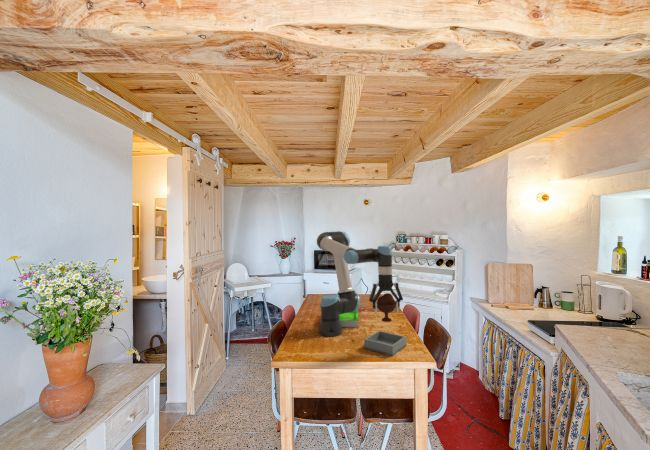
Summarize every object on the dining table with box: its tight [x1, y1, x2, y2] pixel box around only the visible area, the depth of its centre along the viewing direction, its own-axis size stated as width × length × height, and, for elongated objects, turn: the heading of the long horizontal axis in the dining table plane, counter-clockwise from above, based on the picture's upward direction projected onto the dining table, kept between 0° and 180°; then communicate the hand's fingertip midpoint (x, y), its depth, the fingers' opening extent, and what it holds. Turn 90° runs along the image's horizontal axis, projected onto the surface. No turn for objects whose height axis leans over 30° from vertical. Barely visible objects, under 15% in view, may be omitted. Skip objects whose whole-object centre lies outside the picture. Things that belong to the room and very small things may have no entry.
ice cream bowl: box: [376, 292, 396, 323], centre depth 171 cm, size 11×11×15 cm
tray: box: [339, 309, 359, 328], centre depth 219 cm, size 25×25×5 cm
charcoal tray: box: [363, 330, 407, 357], centre depth 172 cm, size 17×17×5 cm
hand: (386, 313), depth 171 cm, fingers closed on ice cream bowl, 11 cm apart
